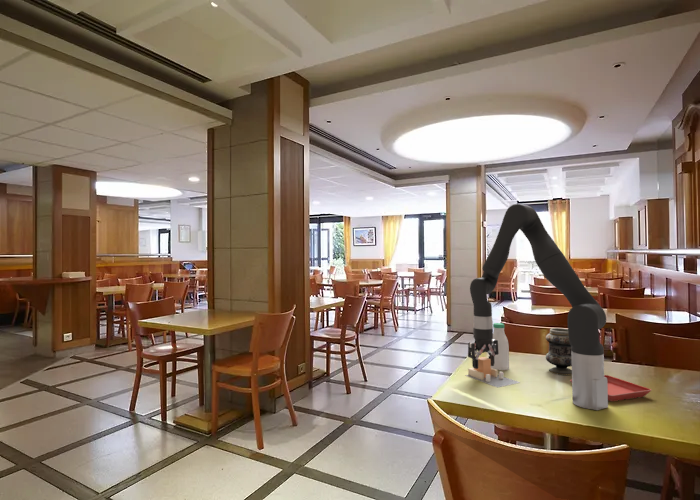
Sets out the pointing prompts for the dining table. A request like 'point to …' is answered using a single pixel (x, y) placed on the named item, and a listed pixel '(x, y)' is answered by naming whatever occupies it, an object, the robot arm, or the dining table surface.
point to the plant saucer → (623, 389)
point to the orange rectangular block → (484, 366)
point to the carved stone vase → (559, 351)
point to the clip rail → (491, 378)
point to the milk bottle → (501, 348)
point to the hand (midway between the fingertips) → (483, 367)
